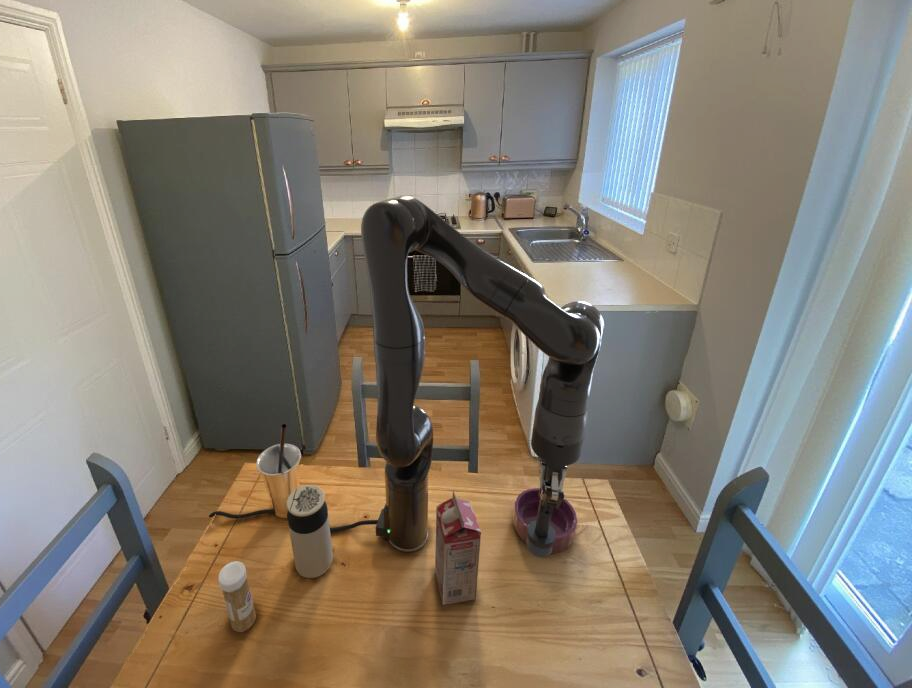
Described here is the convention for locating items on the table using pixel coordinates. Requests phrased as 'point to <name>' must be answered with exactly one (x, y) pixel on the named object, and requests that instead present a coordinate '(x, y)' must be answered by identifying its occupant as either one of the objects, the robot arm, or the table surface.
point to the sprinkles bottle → (237, 596)
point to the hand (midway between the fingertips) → (545, 506)
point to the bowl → (560, 521)
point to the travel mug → (309, 531)
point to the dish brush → (540, 536)
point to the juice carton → (456, 550)
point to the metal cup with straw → (280, 472)
